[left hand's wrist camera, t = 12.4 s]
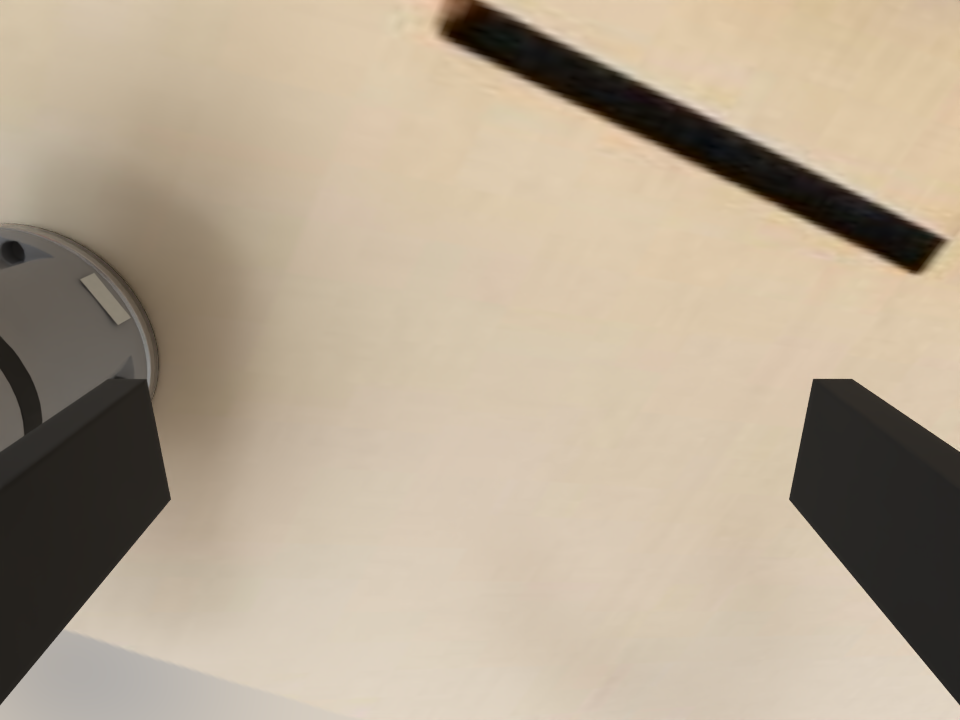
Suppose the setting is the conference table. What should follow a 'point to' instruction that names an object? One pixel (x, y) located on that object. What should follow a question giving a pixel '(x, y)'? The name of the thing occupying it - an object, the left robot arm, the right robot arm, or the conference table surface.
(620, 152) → the conference table surface
